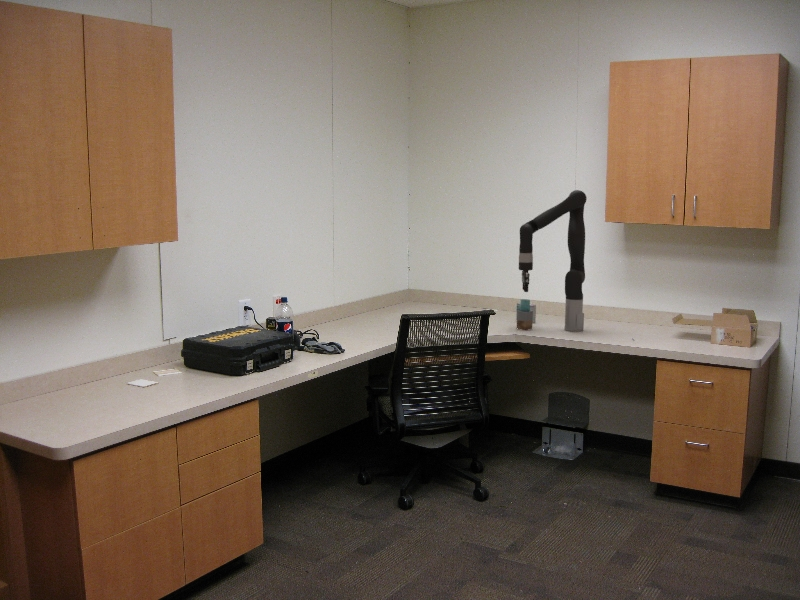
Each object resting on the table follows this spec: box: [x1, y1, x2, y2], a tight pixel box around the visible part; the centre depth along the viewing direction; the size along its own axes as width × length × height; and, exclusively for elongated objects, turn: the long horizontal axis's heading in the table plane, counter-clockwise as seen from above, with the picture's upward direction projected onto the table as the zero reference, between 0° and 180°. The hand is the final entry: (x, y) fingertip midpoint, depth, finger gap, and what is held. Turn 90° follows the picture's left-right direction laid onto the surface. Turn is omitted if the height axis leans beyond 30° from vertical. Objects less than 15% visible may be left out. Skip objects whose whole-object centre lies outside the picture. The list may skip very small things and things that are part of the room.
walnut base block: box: [516, 320, 533, 331], centre depth 442 cm, size 6×6×5 cm
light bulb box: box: [515, 302, 537, 324], centre depth 462 cm, size 11×7×11 cm, turn 25°
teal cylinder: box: [520, 299, 531, 312], centre depth 440 cm, size 5×5×6 cm
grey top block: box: [516, 310, 533, 321], centre depth 441 cm, size 6×6×5 cm
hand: (525, 290), depth 439 cm, fingers open, 8 cm apart
